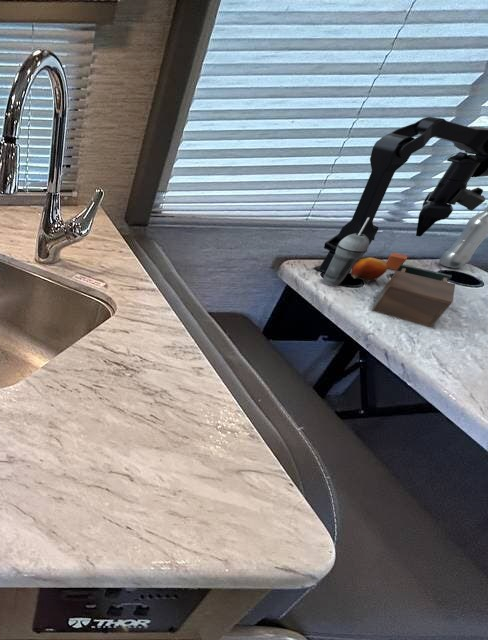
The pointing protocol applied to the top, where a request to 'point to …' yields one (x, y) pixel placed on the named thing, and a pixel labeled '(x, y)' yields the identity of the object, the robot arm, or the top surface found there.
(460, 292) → the top surface
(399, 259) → the block
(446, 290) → the cabinet
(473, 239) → the plastic bottle
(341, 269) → the beverage cup
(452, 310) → the top surface
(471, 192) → the robot arm
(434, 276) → the drawer
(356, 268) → the fruit
